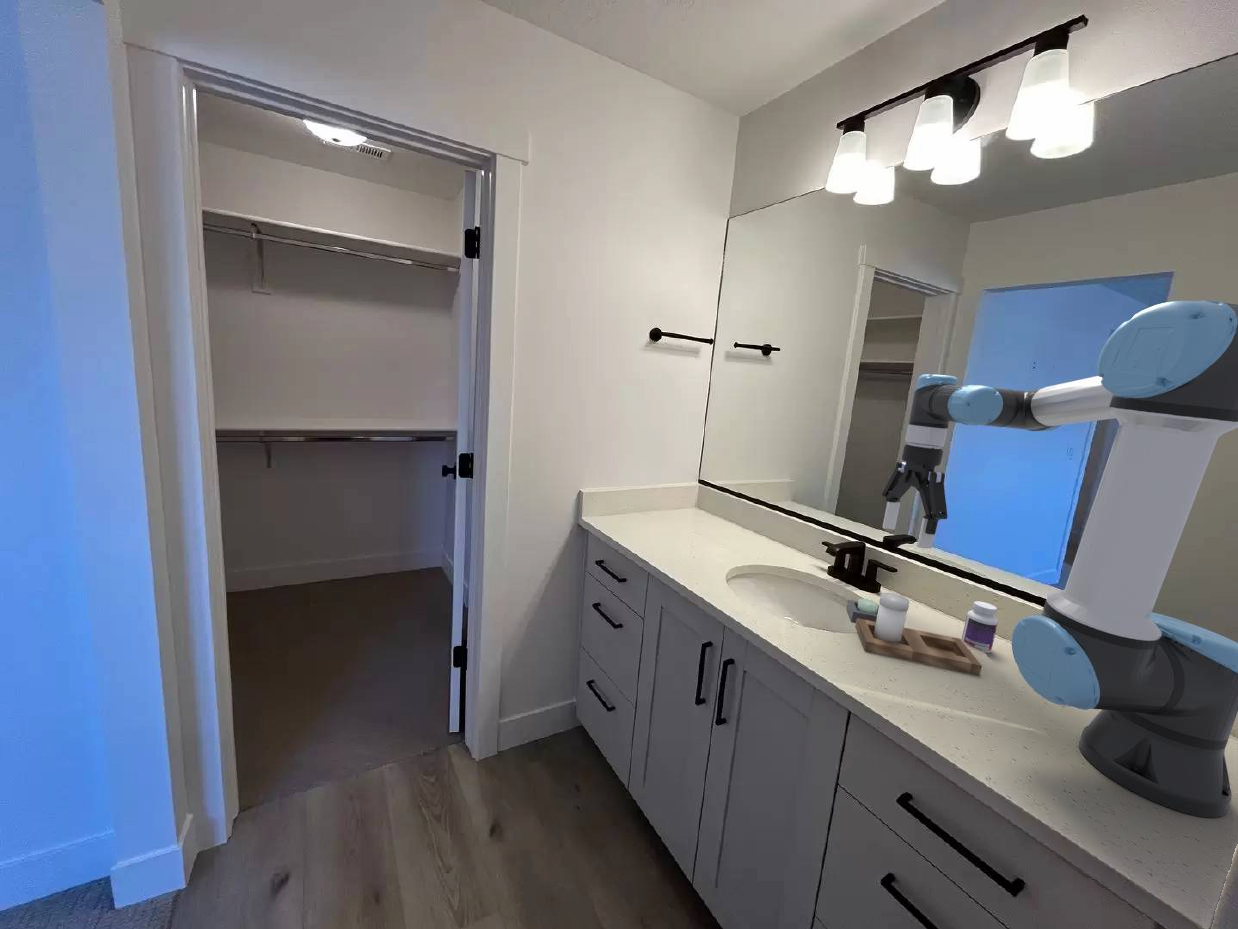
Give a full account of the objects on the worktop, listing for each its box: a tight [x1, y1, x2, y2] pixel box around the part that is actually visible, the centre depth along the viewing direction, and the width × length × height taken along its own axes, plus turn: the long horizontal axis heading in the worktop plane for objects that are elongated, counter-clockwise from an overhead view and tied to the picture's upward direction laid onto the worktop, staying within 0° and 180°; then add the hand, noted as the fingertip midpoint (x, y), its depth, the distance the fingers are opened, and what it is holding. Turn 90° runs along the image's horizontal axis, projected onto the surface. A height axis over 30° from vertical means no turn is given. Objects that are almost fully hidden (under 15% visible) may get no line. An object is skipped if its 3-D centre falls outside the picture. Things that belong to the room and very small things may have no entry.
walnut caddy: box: [855, 618, 983, 676], centre depth 102 cm, size 20×11×3 cm, turn 74°
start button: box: [857, 598, 879, 614], centre depth 114 cm, size 4×4×3 cm
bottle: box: [873, 592, 910, 644], centre depth 103 cm, size 5×5×10 cm
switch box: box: [845, 599, 879, 624], centre depth 115 cm, size 7×7×4 cm
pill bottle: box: [961, 600, 999, 654], centre depth 108 cm, size 5×5×10 cm
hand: (905, 537), depth 115 cm, fingers open, 13 cm apart
